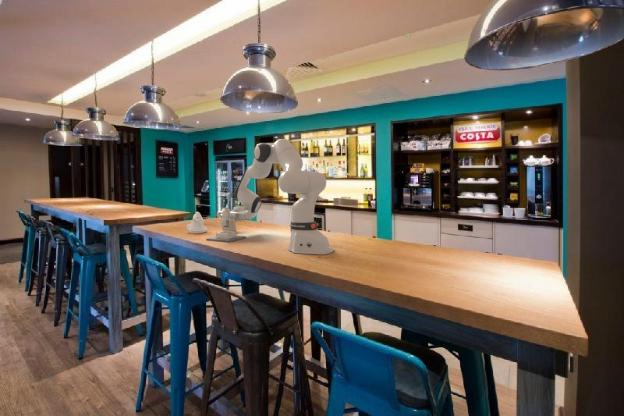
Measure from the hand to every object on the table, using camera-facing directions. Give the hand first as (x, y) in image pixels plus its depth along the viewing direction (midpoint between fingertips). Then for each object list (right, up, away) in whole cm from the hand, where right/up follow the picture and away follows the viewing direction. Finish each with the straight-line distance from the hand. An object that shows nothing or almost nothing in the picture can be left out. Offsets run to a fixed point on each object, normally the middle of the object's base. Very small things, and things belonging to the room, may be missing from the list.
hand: (225, 216), depth 202 cm
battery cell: (0, -6, +1) cm, 6 cm away
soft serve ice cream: (-25, -11, +27) cm, 39 cm away
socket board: (0, -13, +2) cm, 13 cm away
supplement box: (-5, -11, +31) cm, 33 cm away
